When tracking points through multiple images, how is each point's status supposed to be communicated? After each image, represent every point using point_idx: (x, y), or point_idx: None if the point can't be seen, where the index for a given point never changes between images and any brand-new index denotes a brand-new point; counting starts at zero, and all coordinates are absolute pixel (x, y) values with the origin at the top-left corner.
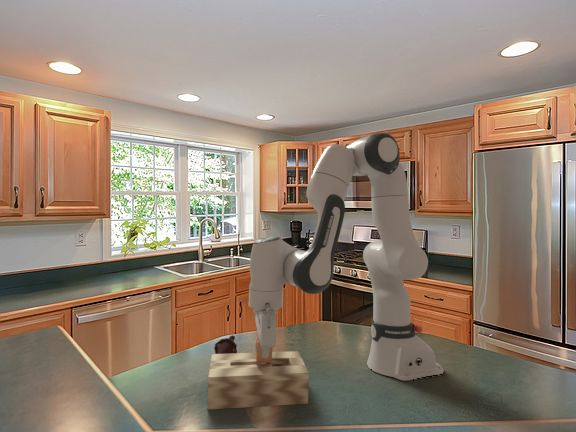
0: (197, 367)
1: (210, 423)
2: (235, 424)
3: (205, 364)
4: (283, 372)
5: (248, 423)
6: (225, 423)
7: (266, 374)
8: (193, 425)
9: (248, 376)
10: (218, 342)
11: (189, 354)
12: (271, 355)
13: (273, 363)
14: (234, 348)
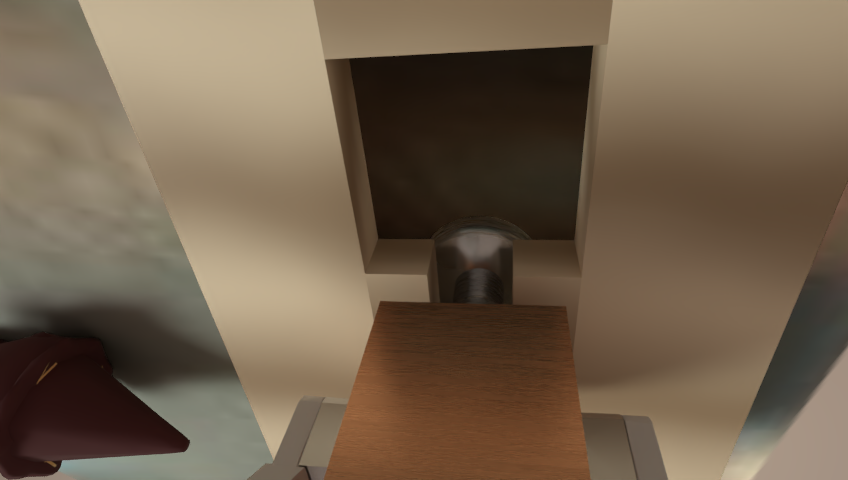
0: (221, 449)
1: (757, 422)
2: (820, 342)
3: (180, 425)
4: (803, 181)
5: (845, 288)
6: (787, 376)
7: (773, 344)
8: (744, 467)
9: (729, 448)
10: (38, 471)
11: (100, 469)
12: (572, 372)
13: (372, 210)
14: (33, 379)
